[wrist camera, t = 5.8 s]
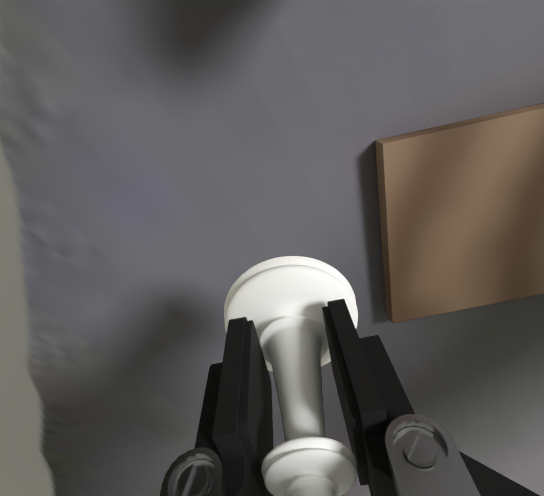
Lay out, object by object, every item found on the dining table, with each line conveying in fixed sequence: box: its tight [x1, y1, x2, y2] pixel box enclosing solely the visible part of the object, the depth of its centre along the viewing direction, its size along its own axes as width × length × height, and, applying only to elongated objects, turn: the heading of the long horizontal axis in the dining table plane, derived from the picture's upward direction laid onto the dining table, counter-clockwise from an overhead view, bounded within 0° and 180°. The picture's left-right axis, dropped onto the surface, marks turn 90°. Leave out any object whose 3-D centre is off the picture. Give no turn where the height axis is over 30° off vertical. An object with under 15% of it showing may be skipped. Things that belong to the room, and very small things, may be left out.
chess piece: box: [224, 256, 358, 496], centre depth 8 cm, size 5×5×10 cm
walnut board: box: [375, 103, 544, 323], centre depth 20 cm, size 18×12×1 cm, turn 102°
